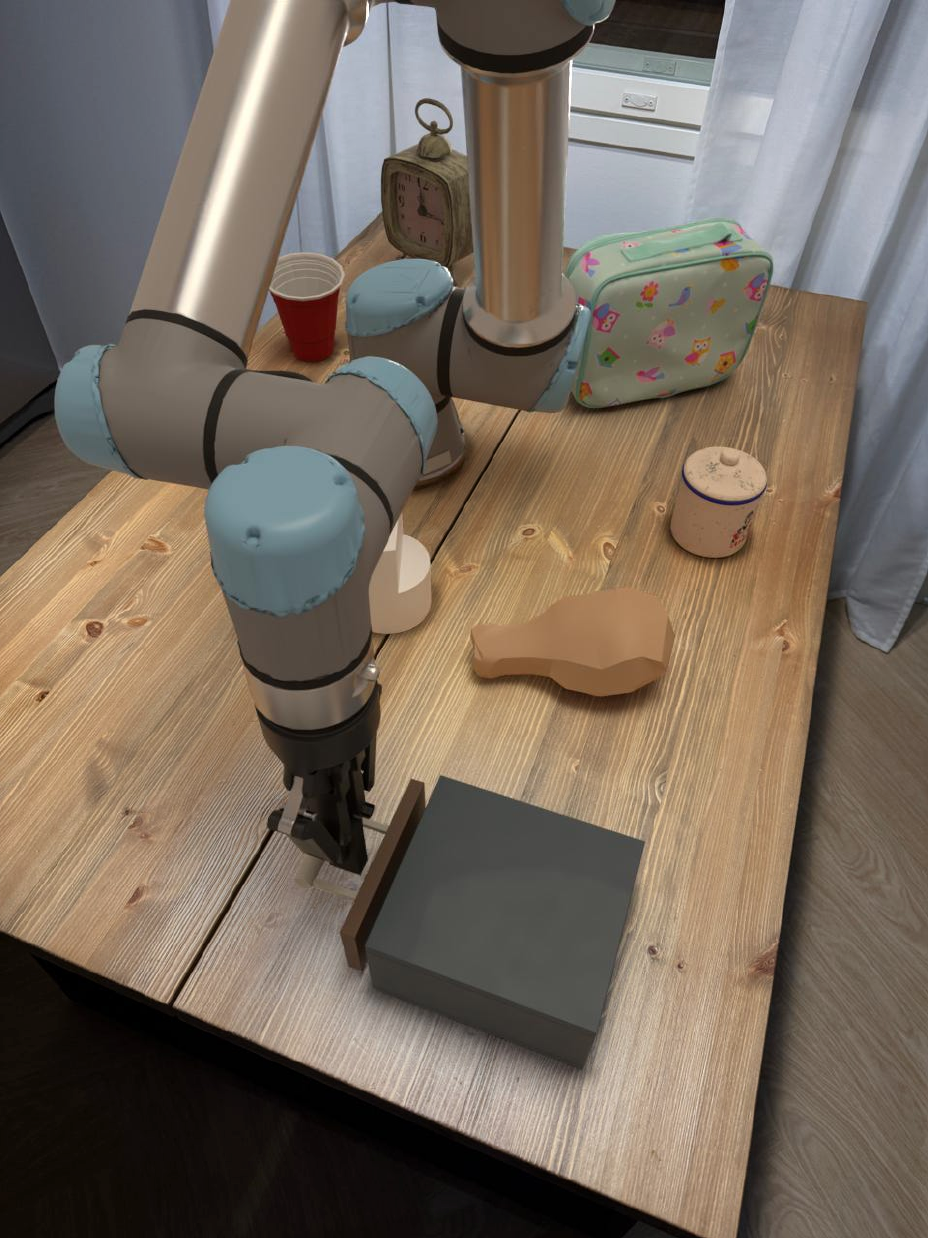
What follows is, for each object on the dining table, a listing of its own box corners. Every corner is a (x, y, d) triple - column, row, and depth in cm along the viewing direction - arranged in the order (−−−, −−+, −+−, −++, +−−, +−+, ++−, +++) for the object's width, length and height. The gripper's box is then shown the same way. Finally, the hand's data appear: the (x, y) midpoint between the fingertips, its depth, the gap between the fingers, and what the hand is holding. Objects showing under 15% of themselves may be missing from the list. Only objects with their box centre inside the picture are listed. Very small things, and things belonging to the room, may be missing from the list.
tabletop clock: (384, 266, 143) (374, 94, 124) (422, 246, 147) (418, 77, 129) (453, 297, 137) (453, 121, 118) (490, 274, 141) (496, 102, 123)
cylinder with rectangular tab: (429, 634, 92) (427, 552, 83) (343, 633, 92) (331, 550, 83) (433, 572, 98) (431, 489, 89) (351, 570, 98) (341, 487, 89)
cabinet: (372, 989, 69) (364, 946, 62) (441, 826, 78) (440, 774, 71) (582, 1070, 65) (596, 1033, 59) (628, 890, 74) (645, 841, 68)
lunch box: (712, 344, 129) (750, 193, 113) (751, 382, 123) (797, 229, 106) (544, 379, 123) (558, 226, 106) (576, 422, 116) (596, 266, 100)
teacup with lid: (743, 568, 99) (771, 488, 90) (661, 550, 101) (681, 470, 92) (753, 500, 107) (780, 420, 98) (677, 484, 108) (697, 404, 100)
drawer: (281, 941, 70) (267, 905, 65) (353, 798, 79) (346, 756, 73) (540, 1040, 66) (547, 1010, 60) (587, 877, 74) (597, 839, 69)
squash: (679, 709, 87) (688, 666, 79) (475, 721, 89) (465, 680, 81) (665, 614, 92) (672, 565, 85) (474, 628, 94) (463, 581, 87)
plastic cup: (290, 381, 122) (278, 300, 113) (264, 342, 128) (250, 262, 119) (364, 361, 125) (357, 280, 116) (335, 324, 131) (326, 245, 122)
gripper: (324, 792, 49) (358, 954, 66) (413, 624, 57) (422, 808, 75) (204, 752, 50) (268, 921, 68) (307, 594, 58) (341, 781, 76)
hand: (348, 862), depth 71 cm, fingers closed
